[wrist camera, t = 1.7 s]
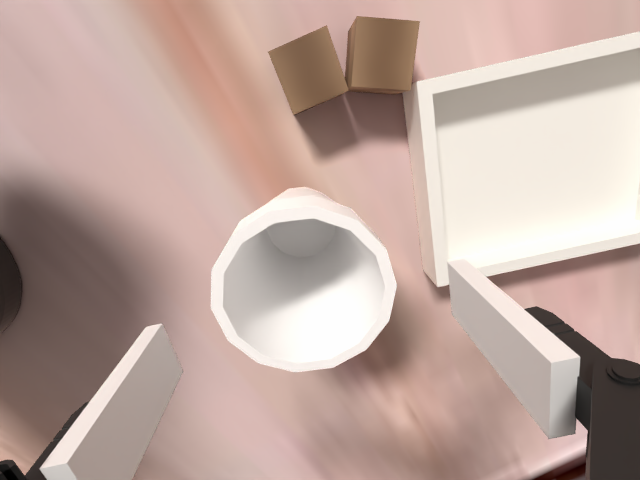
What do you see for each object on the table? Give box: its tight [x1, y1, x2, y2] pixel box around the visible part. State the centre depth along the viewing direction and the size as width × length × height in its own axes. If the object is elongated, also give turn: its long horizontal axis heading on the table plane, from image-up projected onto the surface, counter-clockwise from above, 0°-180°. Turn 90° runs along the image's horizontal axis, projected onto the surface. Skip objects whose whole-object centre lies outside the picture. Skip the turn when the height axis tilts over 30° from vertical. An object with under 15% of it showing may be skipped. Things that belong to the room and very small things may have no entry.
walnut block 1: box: [268, 26, 349, 115], centre depth 24 cm, size 4×4×4 cm
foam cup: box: [211, 187, 397, 372], centre depth 23 cm, size 10×9×13 cm
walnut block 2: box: [345, 16, 420, 94], centre depth 24 cm, size 4×4×4 cm
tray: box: [402, 32, 640, 287], centre depth 27 cm, size 20×16×4 cm
